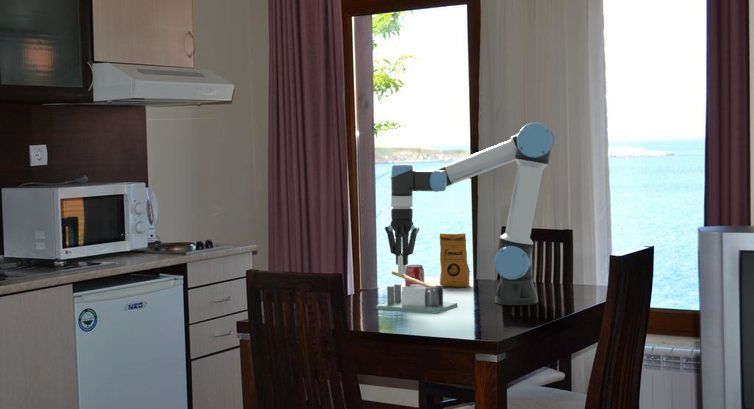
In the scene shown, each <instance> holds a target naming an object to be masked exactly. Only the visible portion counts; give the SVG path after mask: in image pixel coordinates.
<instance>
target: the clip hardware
mask: <svg viewBox="0 0 754 409" xmlns="http://www.w3.org/2000/svg"><path fill="white" fill-rule="evenodd" d="M443 287H444V286H441V285H437V284H436V285H435V287H431V307H439V305H443V302H444V288H443ZM386 293H387V295H386V296H387V298H386V299H387V301H386V303H387V302H388V304H392V305H393V304H394V300H395V302H401V300H402V284H401V283H400V284H398V283H397V284H394V285H393V286H392V285H388V286H386Z"/></svg>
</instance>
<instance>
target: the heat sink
mask: <svg viewBox="0 0 754 409" xmlns="http://www.w3.org/2000/svg"><path fill="white" fill-rule="evenodd" d="M431 285H432V284H431ZM432 286H436V285H434V284H433V285H432ZM401 300H402V306H413V307H427V306H430V305H431V289H430V288H427V287H424V286H422V285H417V284H412V285H410V287H407V286H405V285H404V286H401Z"/></svg>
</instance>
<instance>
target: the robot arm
mask: <svg viewBox="0 0 754 409" xmlns="http://www.w3.org/2000/svg"><path fill="white" fill-rule="evenodd" d="M554 137H555V136H554V134H553V132H552V130H551V129H550V127H549V126H547V125H546V124H544V123H541V122H536V121H534V122H529V123H527V124H525V125H524V126H523V127H521V128H520V130H519V131H518V133H516V134H514V135H512V136H511V137H510V139H509V140H507V141H504V142H500V143H498V144H497V145H494V146H493V145H492V146H490V147H488V148H486V149H483V150H481V151H478V152H475V153H473V154H471V155H468V156H465V157H462V158H460V159H457V160H455V161H453V162H450V163H447V164H445V165H442V166H439V167H437V168H434V169H421V170H420V169H414V168H413V165H412V164H398V163H397V164H394V165H392V167H391V176H390V178H391V179H390V182H391V183H390V185H391V187H390V190H391V191H390V192H391V197H390V198H391V201H390V202H391V203H390V206H391V207H392V208H391V212H390V216H391V221H390V225H387V226H385V227H384V230H385V232H386V236H387V240H388V244H389V249H390V254H391V255H394V256H395V264H396V266H397V271H398V274H400V275H403V274H404V275H405V274H406V266H407V265H409V256H410V255H413V254H414V251H415V246H416V245H415V244H416V240H417V235H418V233H419V231H420V227H416V225H414V222H413V216H414V215H413V212H414V211H413V192H435V193H438V192H444V191H446V189H447V187H450V186H452V185H455V184H457V183H460V182H462V181H465V180H468V179H470V178H473V177H475V176H479V175H481V174H483V173H486V172H489V171H491V170H494V169H496V168H499V167H501V166H504V165H508V164H510V163H513V162H515V163H516V164H517V169H516V173H515V179H514V184H513V190H512V195H511V201H510V205H509V209H508V210H509V211H508V217H507V221H506V227H505V232H504V233H503V234H502V235H499V236H500V237H499V241H498V246H497V251H496V254H495V256H494V258H493V260H494V261H493V263H494V267H495V270H496V272H497V273H498V274H499V284H498V287H497V290H496V293H495V297H494V298H495V304H498V305H502V306H531V305H536V304H537V303H538V302H539V300H538V299H539V297H538V294H537V290H536V287H535V285H534V281H533V247H534V242H533V240H532V239H531V233H532V228H533V223H534V218H535V212H536V207H537V202H538V198H539V197H538V196H539V192H540V187H541V186H540V185H541V181H542V177H543V176H542V174H543V171H544V169H545V168H547V166H549V162H550V157H551V153H552V152H551V151H552V148H553V146H554V142H555V138H554ZM410 232H411V233H410ZM409 235H410V236H409Z"/></svg>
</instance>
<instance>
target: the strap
mask: <svg viewBox="0 0 754 409" xmlns="http://www.w3.org/2000/svg"><path fill="white" fill-rule="evenodd" d="M391 274H392V275H393V276H396V277H399V278H401V279H404V280H405V279H406V280H409V281H411V282H414V283H417V284H419V285H422V286H424V287H427V288H430V289H431V287H435V286H436V285H435V286H432V284H430V283H427V282H425V281H424V282H422V281H419V280H417V279H414V278H411V277H409V276H406V275H405V274H403V275H400V274H398V270H396V269H394V270H392V272H391Z"/></svg>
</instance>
